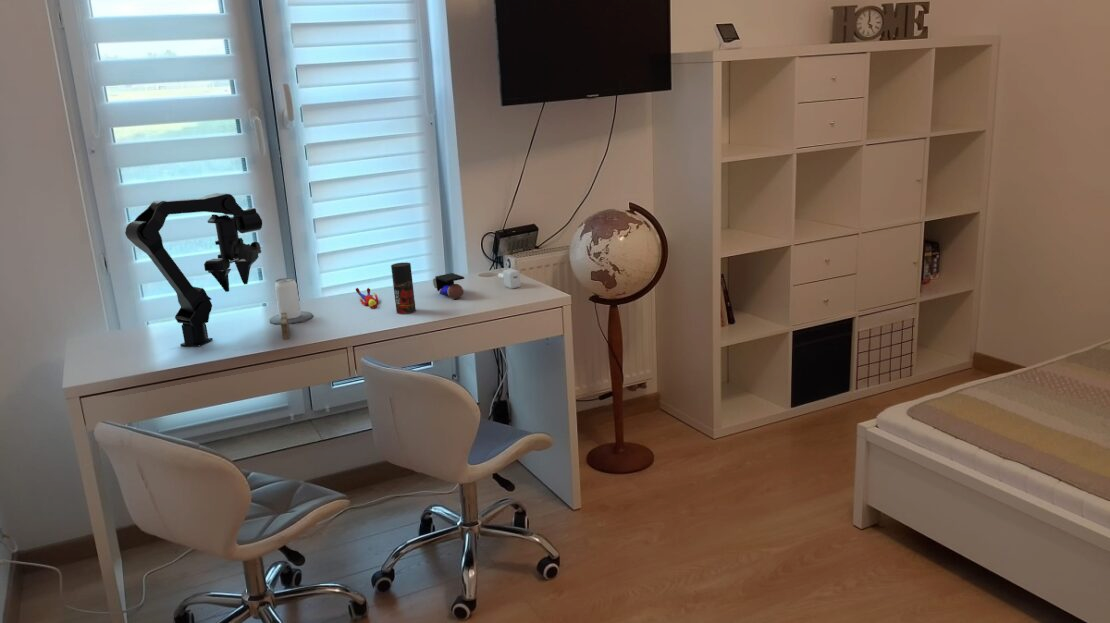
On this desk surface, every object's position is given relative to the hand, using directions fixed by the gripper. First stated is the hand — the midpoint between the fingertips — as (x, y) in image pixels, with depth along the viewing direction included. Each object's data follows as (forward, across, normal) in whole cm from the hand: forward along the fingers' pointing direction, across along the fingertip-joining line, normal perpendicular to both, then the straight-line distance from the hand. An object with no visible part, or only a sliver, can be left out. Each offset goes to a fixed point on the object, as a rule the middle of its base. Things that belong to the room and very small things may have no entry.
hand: (236, 287), depth 253 cm
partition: (+13, -3, -16) cm, 21 cm away
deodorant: (+13, +21, -44) cm, 51 cm away
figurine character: (+13, +41, -51) cm, 67 cm away
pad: (+13, +12, -9) cm, 20 cm away
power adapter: (+13, +54, -67) cm, 87 cm away
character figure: (+14, +32, -26) cm, 43 cm away
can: (+13, +12, -9) cm, 19 cm away
